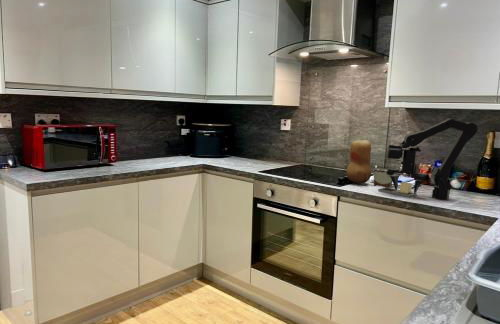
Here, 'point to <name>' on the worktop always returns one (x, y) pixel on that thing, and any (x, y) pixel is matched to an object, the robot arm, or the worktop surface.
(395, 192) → the grey slotted board
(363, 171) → the butternut squash
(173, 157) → the worktop surface
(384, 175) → the food container
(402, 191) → the light wood beam
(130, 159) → the worktop surface
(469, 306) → the worktop surface
